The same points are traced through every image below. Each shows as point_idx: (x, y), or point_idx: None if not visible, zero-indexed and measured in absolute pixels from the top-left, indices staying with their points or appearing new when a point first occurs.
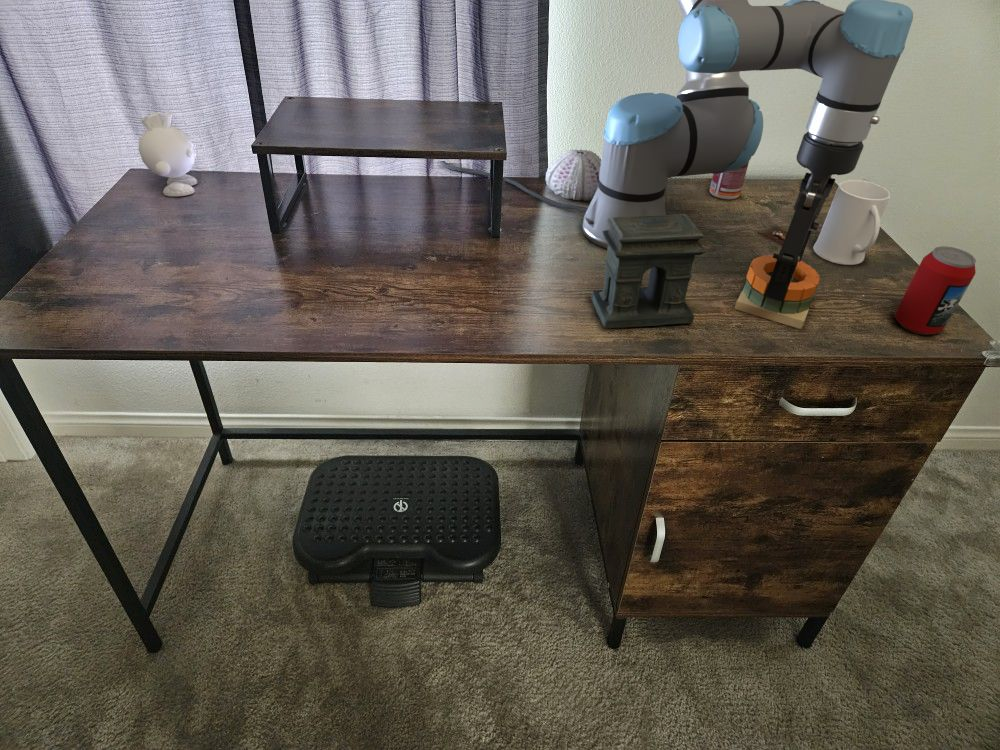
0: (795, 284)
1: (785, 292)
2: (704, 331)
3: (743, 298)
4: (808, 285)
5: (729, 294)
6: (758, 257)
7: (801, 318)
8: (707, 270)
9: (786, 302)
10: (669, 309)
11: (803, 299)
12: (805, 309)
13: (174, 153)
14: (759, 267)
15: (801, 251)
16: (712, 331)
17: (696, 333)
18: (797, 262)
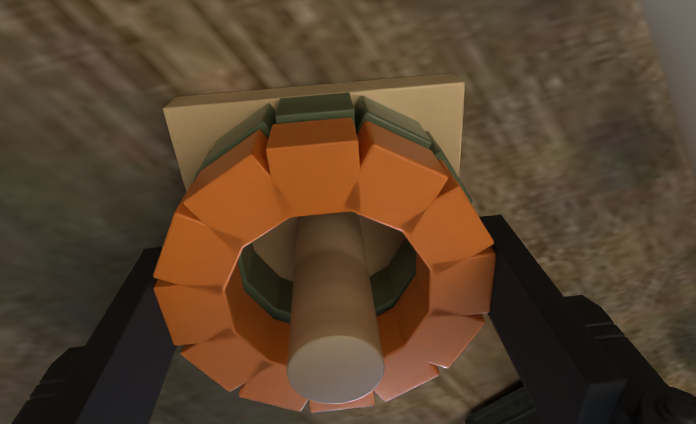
0: (427, 231)
1: (521, 243)
2: (606, 307)
3: None
4: (398, 178)
5: None
6: (280, 406)
7: (447, 98)
8: (268, 404)
9: (470, 197)
10: None
11: (424, 147)
12: (381, 105)
13: None
14: None
15: (135, 327)
16: (598, 292)
17: (624, 317)
18: (620, 380)
